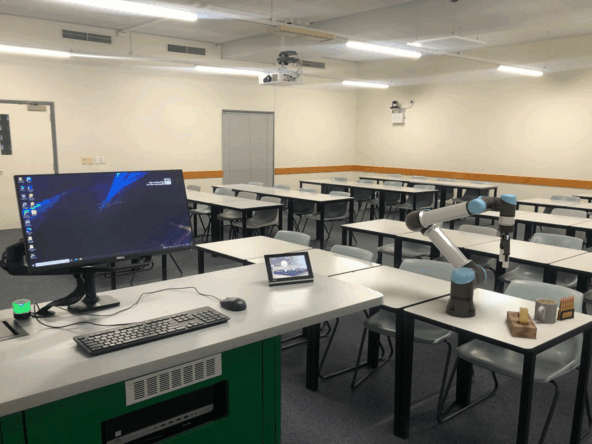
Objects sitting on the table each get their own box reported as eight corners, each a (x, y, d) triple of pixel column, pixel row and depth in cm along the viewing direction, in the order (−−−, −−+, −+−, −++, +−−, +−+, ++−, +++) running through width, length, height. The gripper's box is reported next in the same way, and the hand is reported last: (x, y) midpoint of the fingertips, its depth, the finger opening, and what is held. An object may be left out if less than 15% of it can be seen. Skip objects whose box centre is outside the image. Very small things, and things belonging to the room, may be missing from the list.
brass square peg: (518, 333, 237) (521, 309, 235) (517, 331, 240) (519, 307, 238) (526, 334, 236) (528, 310, 234) (525, 331, 239) (527, 307, 237)
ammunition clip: (570, 316, 261) (572, 294, 259) (573, 317, 259) (576, 295, 257) (556, 319, 256) (559, 297, 254) (560, 321, 255) (562, 298, 253)
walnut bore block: (512, 336, 234) (513, 326, 233) (506, 320, 255) (507, 310, 254) (536, 338, 231) (536, 328, 230) (527, 322, 252) (528, 312, 251)
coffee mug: (541, 315, 262) (543, 297, 261) (559, 321, 254) (561, 302, 252) (525, 319, 256) (527, 301, 254) (544, 326, 247) (545, 306, 246)
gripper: (518, 228, 244) (514, 270, 248) (510, 220, 268) (507, 259, 271) (501, 227, 246) (498, 269, 249) (495, 220, 270) (493, 258, 273)
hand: (503, 264), depth 260 cm, fingers open, 13 cm apart
